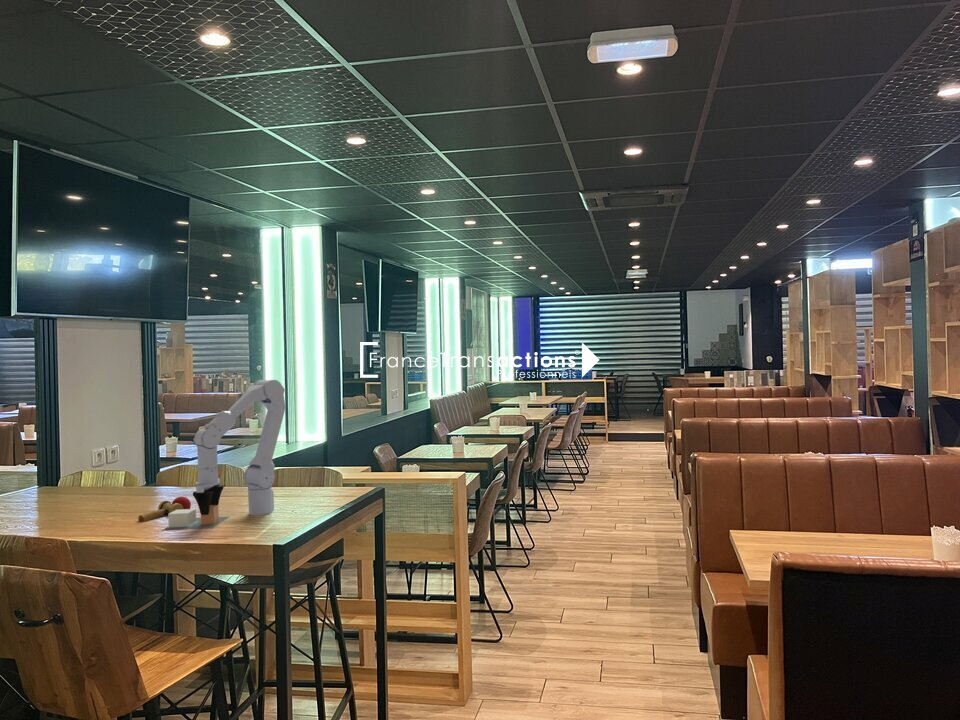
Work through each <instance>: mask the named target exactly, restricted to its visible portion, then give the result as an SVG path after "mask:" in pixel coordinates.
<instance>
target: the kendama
mask: <svg viewBox="0 0 960 720" xmlns="http://www.w3.org/2000/svg"><path fill="white" fill-rule="evenodd" d="M191 506H192V504H191V500H190V499H189V498H188V497H186V496H177V497H176V498H175V499H173V501H172V502H171V501H170V500H163V501H161V502H160V503H159V504H158V507H157V508H158V509H157V510H154V511H150V512H147V513H144V514H140V515H139V516H138V522H148V521H152V520H154V519H157V518H159V517H161V516H163V515H166V514H167V515H168V514H169V513H171V512H173V511H175V510H182V509H191Z"/></svg>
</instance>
